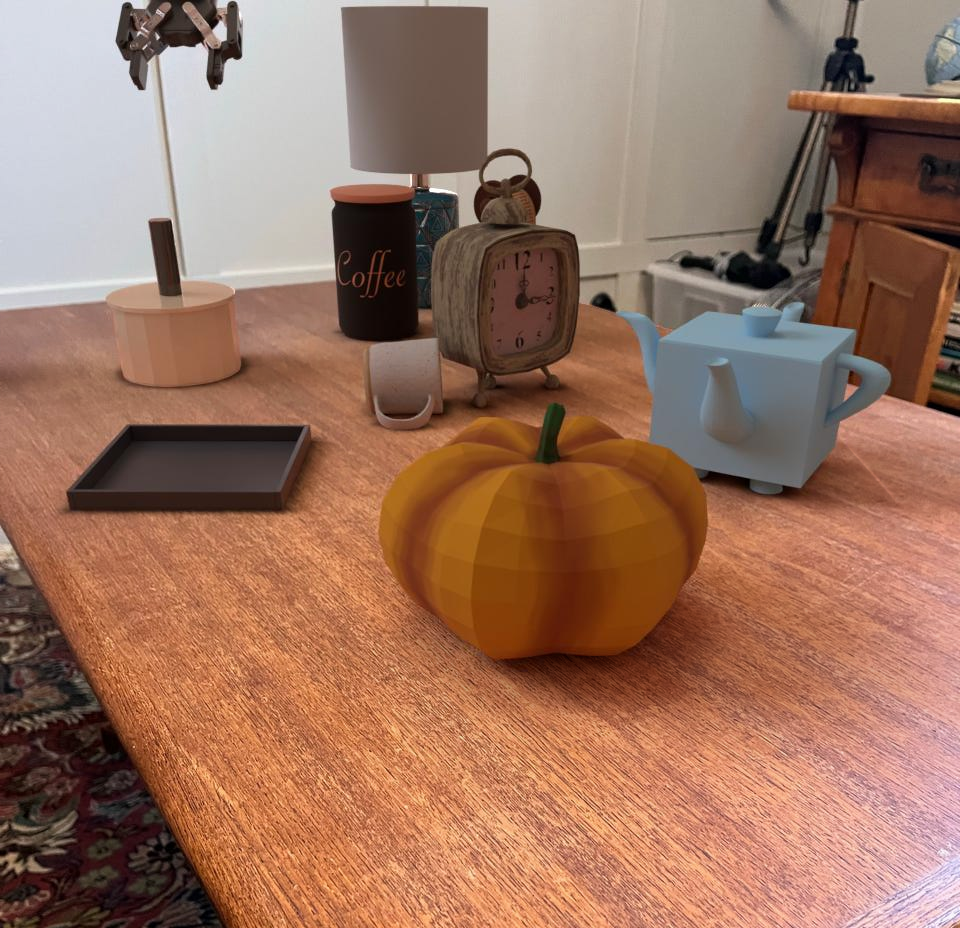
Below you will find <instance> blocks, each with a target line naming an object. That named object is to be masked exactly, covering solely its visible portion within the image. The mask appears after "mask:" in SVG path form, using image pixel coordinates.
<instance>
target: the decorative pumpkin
mask: <svg viewBox="0 0 960 928" xmlns="http://www.w3.org/2000/svg"><path fill="white" fill-rule="evenodd" d="M566 414H567V411H566V408H565V406H564V404H560V403H558V402H557V401H554V402H550V403H549V404H548V405H547V407H546V410H545V414H544V417H543V421H542V426H534V425H530V424H528V423H524V422H521V421H517V420H515V419H514V420H513V419H508V418H504V417H498V416H495V417H494V416H492V417H490V416H485V417H483V416H482V417H481V416H480V417H478V418H477V419H475V420H474V421H473V422H471V423H470V424H469V425H468V426H467V427H466V428H465V429H463V430H462V431H461V432H459V433H458V434H457V435H455V436H454V437H453V438H451V439H449V440H448V441H447V442H445V443H444V444H443V445H442V447H440V448H438V449H434V450H431V451H428V452H424V454H422V455H421V456H419V457H418V458H417V459H416V460H415V461H413V462H412V463H411V464H410V465H408V466H407V467H405V468H404V469H403V470H401V471H400V472H399V473H398V474H397V476H396V477H395V479H394V481H393V482H392V483H391V484H392V485H391V486H390V487H389V490H388V491H387V492H386V494H385V496H384V499H383V500H382V502H381V509H380V515H379V522H378V528H377V529H378V530H377V534H378V538H379V542H380V547H381V550H382V554H383V557H384V563H385V564H386V566H387V567H388V569H389V571H390V572H391V574H392V575H393V576H394V579H395V580H396V581H397V583H398V585H399V586H400V588H401V589H402V590H403V591H404V593H405V594H406V595H407V596H408V597H409V598H410V600H411V601H412V602H413V603H414V604H415V605H417V606H419V607H420V608H422V609H424V610H425V611H426V612H427V613H430V614H431V615H433V616H434V617H435V618H437V619H438V620H439V621H441V622H442V624H444V625H445V626H446V627H447V628H448V629H449V630H450V631H451V632H452V633H453V634H454V635H455V636H457V637H459V638H460V639H462V640H463V641H464V642H466V643H468V644H470V645H471V646H473V647H475V648H476V649H477V650H479V651H481V652H482V653H483V654H485V655H486V656H488V657H489V658H491V659H492V660H508V659H511V660H512V659H524V658H530V657H531V658H532V657H537V656H544V655H549V654H567V655H575V656H576V655H577V656H587V657H589V656H596V657H597V656H617V655H618V654H620V653H622V652H624V651H627V650H629V649H631V648H633V647H635V646H637V645H638V644H639V643H640V642H641V641H642V640H643V639H644V638H645V637H646V636H647V635H648V634H649V633H650V632H652V631H653V630H654V629H655V628H656V626H657V625H658V624H659V622H661V621H662V619H663V617H664V616H665V615H666V614H667V613H668V611H669V610H670V609H671V608H672V606H673V604H674V602H675V601H676V599H677V598H678V596H679V594H680V592H681V591H682V589H683V587H684V586H685V584H687V582H688V581H689V580H690V578H691V577H692V575H693V574H694V573H695V572H696V570H697V568H698V566H699V563H700V560H701V556H702V555H703V551H704V547H705V544H706V541H707V534H708V526H709V519H708V517H709V516H708V502H707V493H706V490H705V489H704V487H703V485H702V482H701V481H700V478H698V477H697V475H696V473H695V471H694V469H693V467H692V466H690V465H689V464H688V463H687V462H685V461H684V460H683V459H682V458H680V457H679V456H678V455H677V454H675V453H674V452H673V451H672V450H670V449H669V448H667V447H663V446H659V445H655V444H651V443H649V442H647V441H643V440H639V439H636V438H635V439H634V438H625V437H624V436H622V435H621V434H620V433H619V432H618V431H616V429H613V428H612V427H611V426H609V425H608V424H606V423H604V422H602V421H601V420H600V419H598V418H596V417H595V416H594V415H592V414H587V415H576V416H572V417H568V418H565V417H566Z"/></svg>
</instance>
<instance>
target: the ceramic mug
mask: <svg viewBox="0 0 960 928" xmlns="http://www.w3.org/2000/svg"><path fill="white" fill-rule="evenodd" d="M441 365H442V364H441V352H440V348H439V340H438V338H435V337H429V338H421V339H410V340H401V341H385V342H379V343H375V344H372V345H369V346H367V347H365V349H364V351H363V356H362V371H363V388H364V396H365V401H366V406H367V409H369V410H370V411H371V412H372V413H375V415H376V419H377V420H378V422H379V424H380V425H381V426H383V428H386V429H390V430H397V431H400V430H401V431H405V430H406V431H407V430H416V429H420V428H422V427H423V426H425V425H426V424H427V423H428V422H429V420H430V418H431V416H432V415H433V414H434V415H435V414H436V415H438V414H442V413H443V412H444V402H443V401H444V400H443V396H444V395H443V383H442V382H443V380H442V379H443V378H442V366H441ZM399 414H401V415H403V414H410V415H413V414H414V415H415V416H413V417H411V418H407V419H403V418H402V419H398V418H397V419H396V418H391V417H389V416H386V415H399Z"/></svg>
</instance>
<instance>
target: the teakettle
mask: <svg viewBox="0 0 960 928" xmlns="http://www.w3.org/2000/svg"><path fill="white" fill-rule="evenodd" d="M804 309H805V303H804V302H801V301H793V302H790V303H788V304H787V305H785V306H784V308H783V309H782V310H780V309H778V308H775V307H771V306H763V305H762V306H761V305H760V306H759V305H757V306H756V305H755V306H749V307H746V308H743V309H742V310H741V312H742V315H741V314H733V313H725V312H719V311H718V312H716V311H711V310H706V311H705V312H703V313H701V314H699V315H698V316H696V317H694V318H693V319H691V320H689V321H688V322H686V323H684V324H682V325H681V326H679V327H677V328H675V329H674V330H672V331H671V332H669V333H668V334H666V335H664V336H662V337H661V336H660V333H659V330H658V328H657V326H656V324H655V322H653V321H652V319H651V318H650V317H648V316H647V315H646V314H642V313H638V312H633V311H626V310H617V311H615V314H616V315H617V316H619V317H620V318H621V319H622V320H624V321H625V322H626V323H628V324H629V325H630V327H631V328H632V329H633V331H634V333H635V334H636V337H637V339H638V343H639V346H640V351H641V358H642V365H643V371H644V378H645V382H646V385H647V389H648V390H649V392H650V394H651V396H652V404H651V405H652V406H651V417H650V426H649V438H648V443H651V444H655V445H659V446H663V447H667V448H669V449H670V450H672V451H673V452H674V453H675V454H677V455H678V456H679V457H680V458H682V459H683V460H684V461H685V462H687V463H688V464H689V465H690V466H692V467H693V469H694V471H695V473H696V475H697V477H698V479H703V478H706V477H707V476H708V474H709V472H715V473H720V474H725V475H731V476H735V477H740V478H746V479H749V488H750V490H752V491H754V492H756V493H758V494H764V495H776V494H780V493H782V492H783V486H786V487H792V488H797V489H801V488H802V487H803V486H804V485H805V484H806V483H807V481H808V480H809V479H810V477H811V476H812V475H813V474H814V473H815V471H816V470H817V469H818V468H819V467H820V465H821V464H822V463H823V462H824V461H825V459H826V458H828V456H829V454H830V453H831V452H832V451H833V449H835V447H836V444H837V438H838V434H839V429H840V423H841V422H842V421H845V420H847V419H849V418H851V417H852V416H855V415H856V414H858V413H860V412H863V411H864V410H865V409H867V408H868V407H870V406H871V405H873V404H875V403H876V402H877V401H878V400H879V399H881V397H882V396H883V395H884V394H885V393H886V392H887V390H888V388H889V387H890V385H891V381H892V375H891V372H890V371H889V370H888V368H886V367H885V366H883V364H881V363H879V362H876V361H874V360H871V359H868V358H865V357H862V356H858V355H854V350H855V344H856V339H857V334H858V332H857V330H856V329H853V328H846V327H845V328H844V327H837V326H830V325H821V324H814V323H807V322H806V323H805V322H800V320H801V317H802V314H803V312H804ZM850 371H851V372H854V373H855V374H857V375H859V376H860V377H861V383H860V384H859V386H858V387H857V389H856V390H855V391H854V392H853V393H852V394H851V395H850V396H849V397H848V398H846V399H845V396H846V391H847V387H848V381H849V375H850Z"/></svg>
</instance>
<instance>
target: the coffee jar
mask: <svg viewBox="0 0 960 928" xmlns="http://www.w3.org/2000/svg"><path fill="white" fill-rule="evenodd" d="M329 193H330V198H331V199H332V200H333V202H334V206H333V208H332V210H331V227H332V241H333V255H334V257H333V258H334V271H335V283H336V284H335V287H336V300H337V301H336V302H337V315H338V326H339V328H340V330H341V332H342V334H344V336H345V337H347V338H350V339H353V340H357V341H366V342H391V341H395V340H402V339H405V338H410V336H413V335H414V333H415V332H416V331H417V330H418V328H419V324H420V323H419V321H420V320H419V318H420V317H419V316H420V315H419V308H418V280H417V244H416V212H415V209H414V208H413V206H412V205H411V201H412V199H413V198H414V196H415V190H414V189H413V188H412V187H410V186H407V185H400V184H389V183H367V184H366V183H365V184H363V183H360V184H350V185H342V186H341V185H340V186H336V187H333V188H332V189H330V190H329Z"/></svg>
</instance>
